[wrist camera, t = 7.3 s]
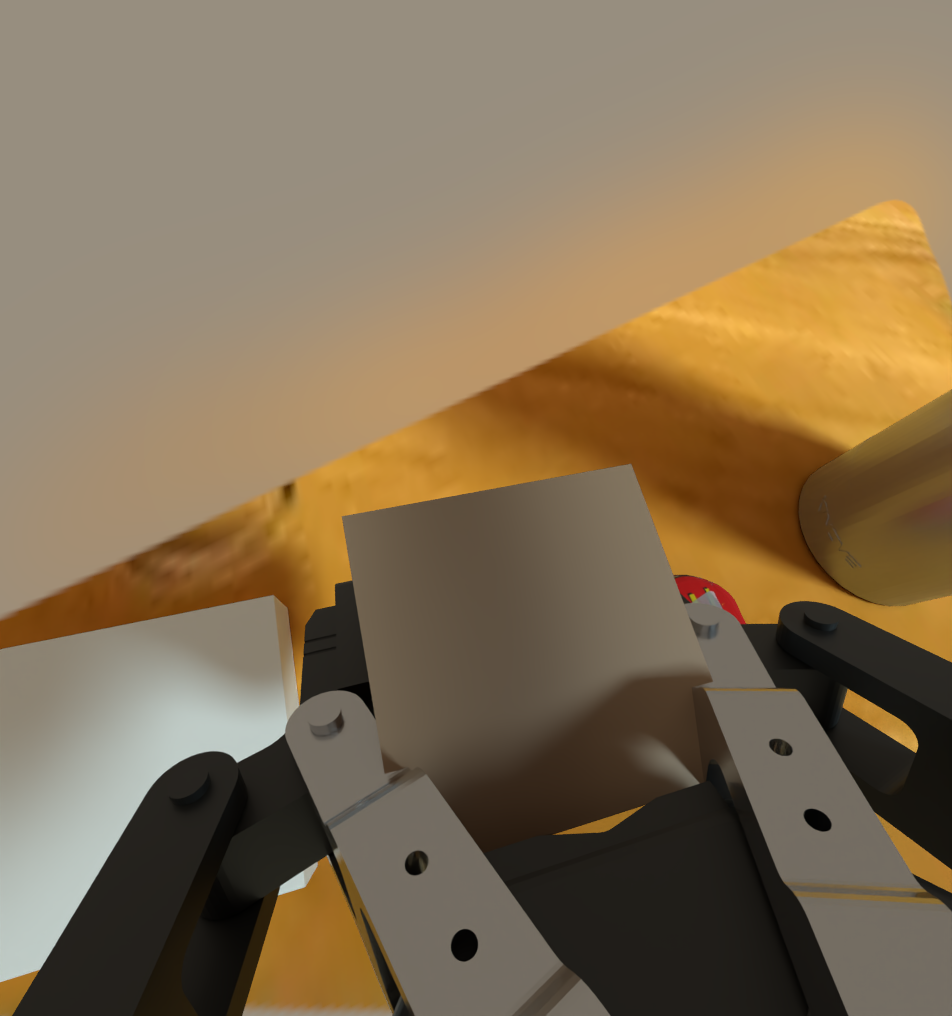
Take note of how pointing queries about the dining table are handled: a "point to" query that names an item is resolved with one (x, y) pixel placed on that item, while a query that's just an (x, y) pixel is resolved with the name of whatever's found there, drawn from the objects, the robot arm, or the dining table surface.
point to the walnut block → (529, 652)
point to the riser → (120, 744)
